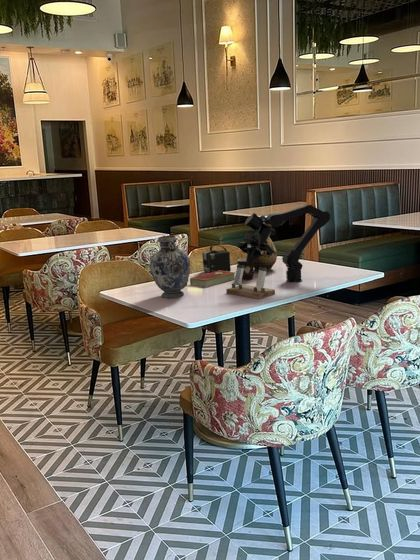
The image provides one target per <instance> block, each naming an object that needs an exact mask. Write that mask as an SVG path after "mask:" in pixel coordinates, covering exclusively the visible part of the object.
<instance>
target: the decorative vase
mask: <svg viewBox="0 0 420 560" xmlns="http://www.w3.org/2000/svg"><path fill="white" fill-rule="evenodd" d="M178 240H179V237H176V235H171V234H169V235H168V234H167V235H164V234H163V235H161V236H159V237H158V239H157V240H156V242H157V243H159V245H160V246H159V247H160V249H159V250H158V251H156V252H155V253H153V254H152V255H151V256H150V261H149V268H150V273H151V274H150V275H151V278H152V279H153V281H154V283H155V284H156V286H157V287H158V288H159V289H160V290H161V291H163V293H161V298H165V299H175V297H176V298H180V297H183V296H184V295H185V292H184V291H182V290H184V289H185V288H186V287H188V282H189V278H190V274H191V273H190V272H191V261H190V257H189V255H188V253H187V252H186V251H184V250H182V249H180V248H178V247H177V243H176V242H177V241H178Z"/></svg>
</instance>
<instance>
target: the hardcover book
mask: <svg viewBox="0 0 420 560" xmlns="http://www.w3.org/2000/svg"><path fill="white" fill-rule="evenodd" d="M235 275H236V271H235V272H234V271H216V272H212V273H204V274H200V275H196V276H192V277H189V278H190V279H189V282H190V285H193V286H199V287H200V286H201V287H205V288H208V287H212V286H215V285H218V284H222V283H225V282H228V281H229V282H230V281H234V280H235Z"/></svg>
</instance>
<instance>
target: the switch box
mask: <svg viewBox="0 0 420 560" xmlns="http://www.w3.org/2000/svg"><path fill="white" fill-rule="evenodd" d="M226 294H229V295H233V296H234V295H235V296H240V297H243V298H244V297H245V298H252V299H256V300H260V299H264V298H266V297H269V296H272V295H273V296H274V295H275V294H276V290H275V289H273V288H269V287H268V288H266V287H263V288H262V289H258V288H256V285H249V284H241V285H234V282H233V283H232V284H231V287H229V288H226Z"/></svg>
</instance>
